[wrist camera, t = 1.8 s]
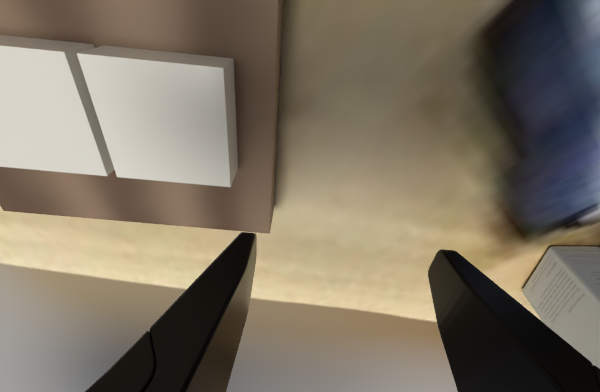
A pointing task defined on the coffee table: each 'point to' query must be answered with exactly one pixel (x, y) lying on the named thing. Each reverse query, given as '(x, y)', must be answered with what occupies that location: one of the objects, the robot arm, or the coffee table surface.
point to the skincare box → (569, 296)
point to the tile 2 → (165, 113)
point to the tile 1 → (48, 109)
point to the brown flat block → (180, 39)
